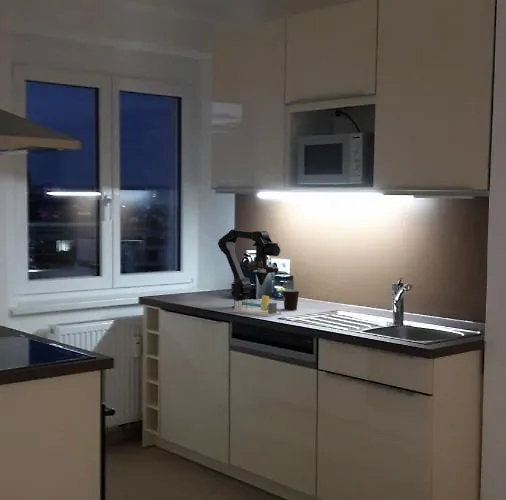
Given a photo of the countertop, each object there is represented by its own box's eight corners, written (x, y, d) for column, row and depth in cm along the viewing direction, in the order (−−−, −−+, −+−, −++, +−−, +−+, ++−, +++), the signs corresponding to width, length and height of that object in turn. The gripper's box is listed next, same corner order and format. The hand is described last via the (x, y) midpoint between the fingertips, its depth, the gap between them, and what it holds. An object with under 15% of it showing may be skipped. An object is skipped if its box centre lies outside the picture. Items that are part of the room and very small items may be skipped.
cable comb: (232, 311, 411) (232, 301, 410) (246, 309, 419) (247, 299, 419) (267, 316, 396) (267, 305, 395) (281, 314, 404) (281, 303, 404)
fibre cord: (238, 309, 413) (238, 299, 413) (242, 308, 416) (243, 298, 415) (271, 313, 399) (272, 303, 398) (276, 313, 402) (276, 303, 401)
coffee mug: (297, 311, 416) (297, 291, 415) (281, 310, 418) (281, 291, 417) (300, 307, 427) (300, 289, 426) (284, 307, 429) (284, 288, 428)
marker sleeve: (260, 310, 403) (260, 296, 403) (265, 309, 406) (265, 295, 406) (265, 311, 401) (265, 296, 401) (270, 310, 404) (270, 295, 404)
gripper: (237, 255, 415) (237, 285, 416) (265, 257, 403) (265, 288, 404) (251, 253, 424) (251, 283, 425) (279, 255, 412) (278, 286, 413)
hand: (261, 285), depth 417 cm, fingers closed
